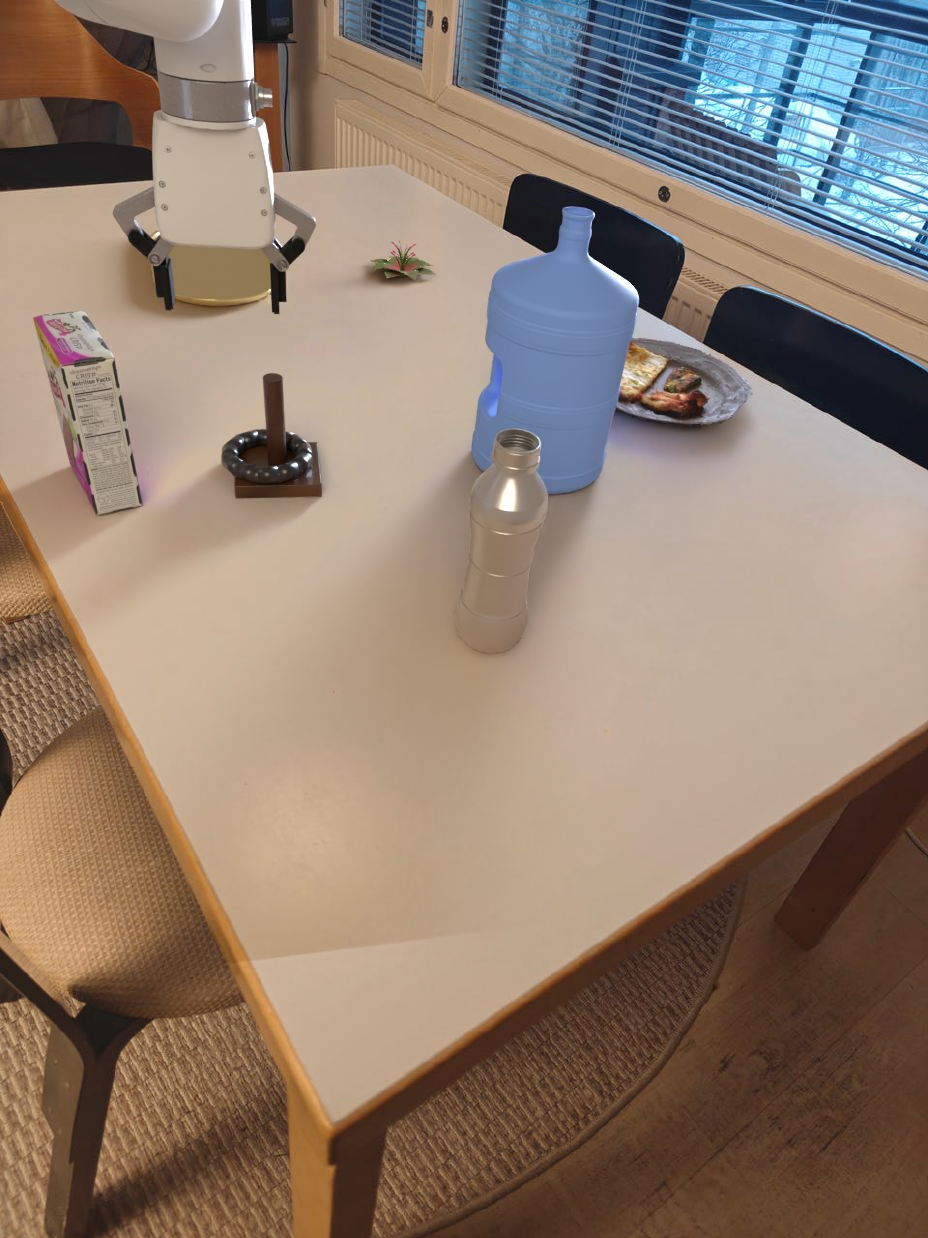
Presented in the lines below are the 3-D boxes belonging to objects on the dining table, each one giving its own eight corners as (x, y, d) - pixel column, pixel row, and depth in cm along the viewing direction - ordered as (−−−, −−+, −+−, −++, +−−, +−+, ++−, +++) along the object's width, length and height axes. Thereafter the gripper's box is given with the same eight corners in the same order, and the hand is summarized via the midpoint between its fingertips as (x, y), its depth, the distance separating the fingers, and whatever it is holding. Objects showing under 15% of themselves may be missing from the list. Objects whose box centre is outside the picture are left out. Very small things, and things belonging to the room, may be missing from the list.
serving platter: (258, 232, 154) (257, 222, 153) (287, 308, 129) (287, 298, 128) (147, 231, 149) (146, 222, 148) (156, 311, 124) (154, 300, 123)
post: (235, 498, 90) (225, 397, 83) (236, 454, 97) (227, 357, 90) (321, 496, 92) (320, 398, 85) (317, 453, 99) (315, 358, 91)
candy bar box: (66, 464, 92) (30, 314, 81) (114, 455, 94) (85, 307, 84) (94, 519, 85) (58, 363, 75) (145, 507, 88) (117, 354, 77)
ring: (221, 487, 89) (219, 472, 88) (223, 440, 96) (221, 426, 95) (315, 485, 91) (314, 470, 90) (310, 439, 98) (309, 425, 97)
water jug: (622, 458, 105) (682, 214, 86) (563, 514, 94) (618, 250, 76) (511, 416, 110) (546, 179, 92) (444, 465, 99) (468, 207, 81)
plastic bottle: (444, 653, 75) (466, 453, 62) (462, 606, 81) (486, 412, 68) (515, 670, 75) (552, 471, 62) (529, 621, 80) (566, 428, 67)
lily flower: (380, 286, 140) (381, 257, 137) (357, 260, 148) (357, 232, 145) (448, 282, 144) (450, 254, 141) (422, 257, 152) (423, 230, 149)
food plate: (703, 455, 107) (711, 430, 105) (541, 395, 115) (545, 371, 113) (764, 388, 124) (772, 365, 121) (618, 340, 132) (623, 317, 130)
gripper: (312, 99, 75) (314, 295, 86) (101, 81, 71) (131, 289, 82) (317, 117, 69) (318, 325, 80) (88, 99, 66) (122, 319, 77)
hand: (223, 306), depth 81 cm, fingers open, 9 cm apart
